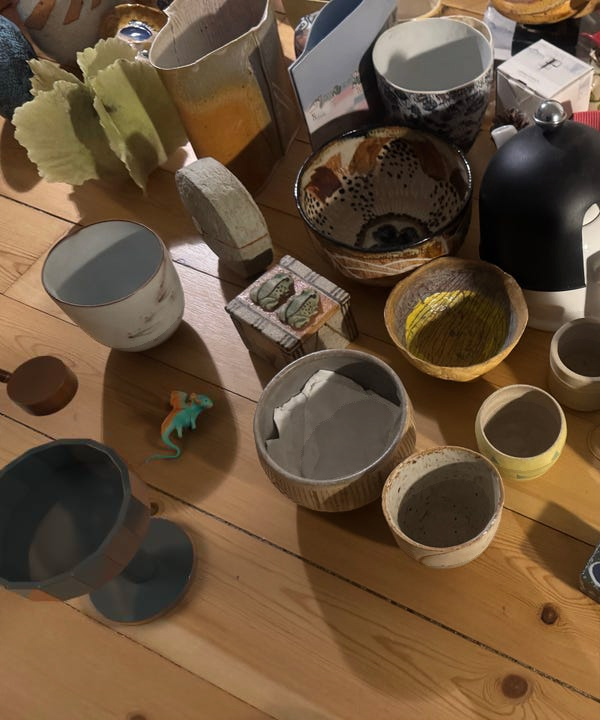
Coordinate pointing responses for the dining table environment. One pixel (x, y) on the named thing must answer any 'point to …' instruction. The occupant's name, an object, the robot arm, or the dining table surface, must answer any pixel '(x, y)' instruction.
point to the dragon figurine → (182, 416)
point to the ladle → (41, 385)
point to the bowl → (89, 534)
